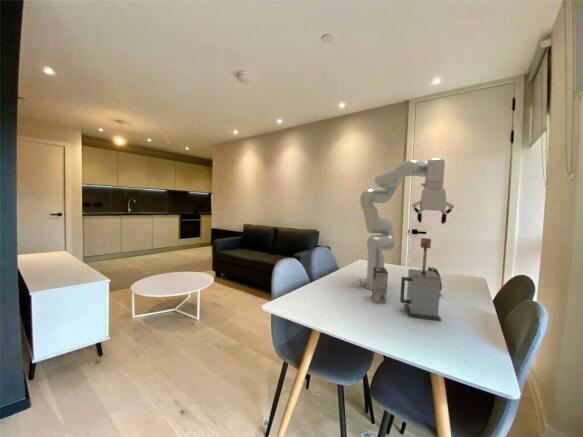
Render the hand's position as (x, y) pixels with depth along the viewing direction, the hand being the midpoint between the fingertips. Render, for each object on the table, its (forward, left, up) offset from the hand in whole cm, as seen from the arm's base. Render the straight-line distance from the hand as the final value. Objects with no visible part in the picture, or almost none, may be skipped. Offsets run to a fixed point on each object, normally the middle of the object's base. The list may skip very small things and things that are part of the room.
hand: (431, 222), depth 118 cm
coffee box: (-20, +8, -43) cm, 48 cm away
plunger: (-2, -3, -28) cm, 28 cm away
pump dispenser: (+10, +28, -42) cm, 52 cm away
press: (-4, -3, -42) cm, 43 cm away
